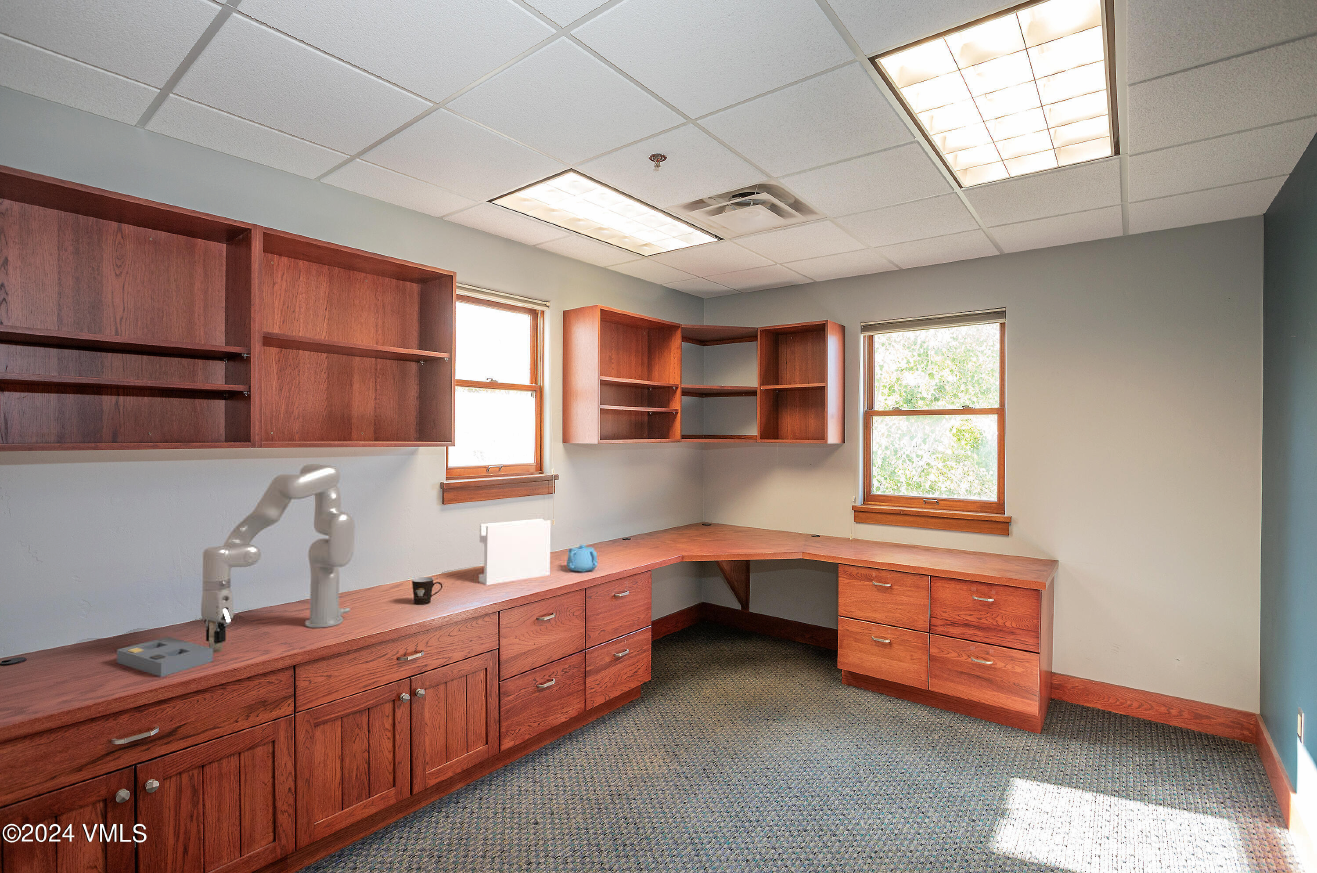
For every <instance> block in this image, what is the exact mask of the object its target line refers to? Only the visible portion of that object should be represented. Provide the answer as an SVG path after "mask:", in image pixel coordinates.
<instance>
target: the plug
mask: <svg viewBox="0 0 1317 873" xmlns="http://www.w3.org/2000/svg"><path fill="white" fill-rule="evenodd" d="M221 620H223V618H222V619H221ZM221 623H223V622H221ZM221 623H219V626H220V624H221ZM214 631H216V626H215V622H214V621H209V641H208V647H209V648H213V654H215V653H220V652H222V651H223V645H224V644H223V642H221V643H217V644H215V643H214Z"/></svg>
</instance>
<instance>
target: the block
mask: <svg viewBox="0 0 1317 873" xmlns="http://www.w3.org/2000/svg"><path fill="white" fill-rule="evenodd" d="M551 523H552V521H551V520H550V519H549V520H547V519H546V520H544V518H534V519H533V518H532V519H523V520H522V519H521V520H514V521H499V522H487V523H480V524H479V543H480V544H483V546H484V553H483V554H484V555H483V556H484V557H483V558H484V559H483V564H484V565H483V567H484V568H483V573H481V574H478V582H479V583H481V584H483V585H485V586H489V585H494V584H500V583H501V584H502V583H507V582H513V581H514V582H515V581H521V580H526V579H533V578H539V577H546V576H550V575H551V532H552V531H551V530H552V529H551V526H552V524H551Z"/></svg>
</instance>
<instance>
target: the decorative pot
mask: <svg viewBox="0 0 1317 873" xmlns="http://www.w3.org/2000/svg"><path fill="white" fill-rule="evenodd" d="M567 552H568V553H567V555H568V556H567V560H566V567H567V568H568V569H569V570H571V572H580V573H586V572H588V571H590V572H591V571H594V569H596V568H597V567H598V562H599V561H598V553H597V552H596V550H595V548H594V547H591V546H588V547H587V545H586V544H579V546H578V547H577V546H576V547H571V548H569V549H568V551H567Z"/></svg>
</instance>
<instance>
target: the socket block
mask: <svg viewBox="0 0 1317 873" xmlns="http://www.w3.org/2000/svg"><path fill="white" fill-rule="evenodd" d="M213 658H214V653H213V648H209V646H205V645H201V644H198V643H193V642H190V641H187V640H186V641H185V640H183V639H179V638H176V637H171V636H166V637H161V638H158V639H154V640H150V641H146V642H143V643H138V644H134V645H130V646H126V647H123V648H118V649H117V650H116V663H117V664H120V665H123V666H126V667H129V668H131V669H132V668H133V669H135V670H138V671H142V672H145V673H147V674H151V675H154V676H158V677H160V678H161V677H162V678H163V677H166V676H169V675H173V674H175V673H179V672H182V671H185V670H188V669H192V668H195V667H198V666H202V665H205V664H209V663H212V662H213V661H214V659H213Z"/></svg>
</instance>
